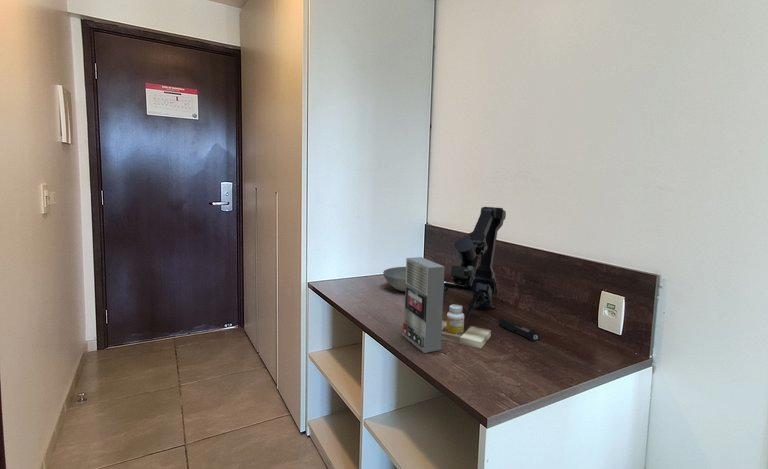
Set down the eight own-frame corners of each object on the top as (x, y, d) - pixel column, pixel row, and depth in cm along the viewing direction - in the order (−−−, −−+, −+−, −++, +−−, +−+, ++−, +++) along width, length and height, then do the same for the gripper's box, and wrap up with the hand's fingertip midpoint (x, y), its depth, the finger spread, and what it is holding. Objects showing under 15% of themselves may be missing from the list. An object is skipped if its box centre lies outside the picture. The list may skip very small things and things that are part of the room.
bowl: (432, 297, 171) (433, 278, 169) (382, 295, 171) (382, 277, 170) (428, 283, 192) (428, 266, 190) (383, 282, 192) (383, 265, 191)
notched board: (440, 325, 139) (440, 319, 139) (490, 336, 131) (491, 330, 130) (427, 336, 129) (427, 330, 129) (480, 348, 121) (481, 342, 121)
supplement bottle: (448, 331, 134) (450, 302, 132) (464, 334, 132) (466, 305, 130) (443, 337, 129) (445, 307, 128) (460, 340, 127) (462, 310, 125)
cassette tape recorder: (401, 336, 129) (403, 258, 125) (418, 333, 132) (421, 257, 128) (423, 354, 117) (426, 268, 113) (441, 350, 119) (445, 266, 115)
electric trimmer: (504, 325, 142) (504, 316, 142) (540, 340, 129) (541, 331, 128) (496, 326, 140) (496, 318, 140) (532, 343, 127) (533, 333, 126)
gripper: (434, 252, 134) (419, 293, 127) (491, 259, 125) (479, 303, 118) (442, 270, 142) (428, 310, 135) (496, 278, 133) (485, 321, 126)
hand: (454, 311), depth 128 cm, fingers open, 9 cm apart
